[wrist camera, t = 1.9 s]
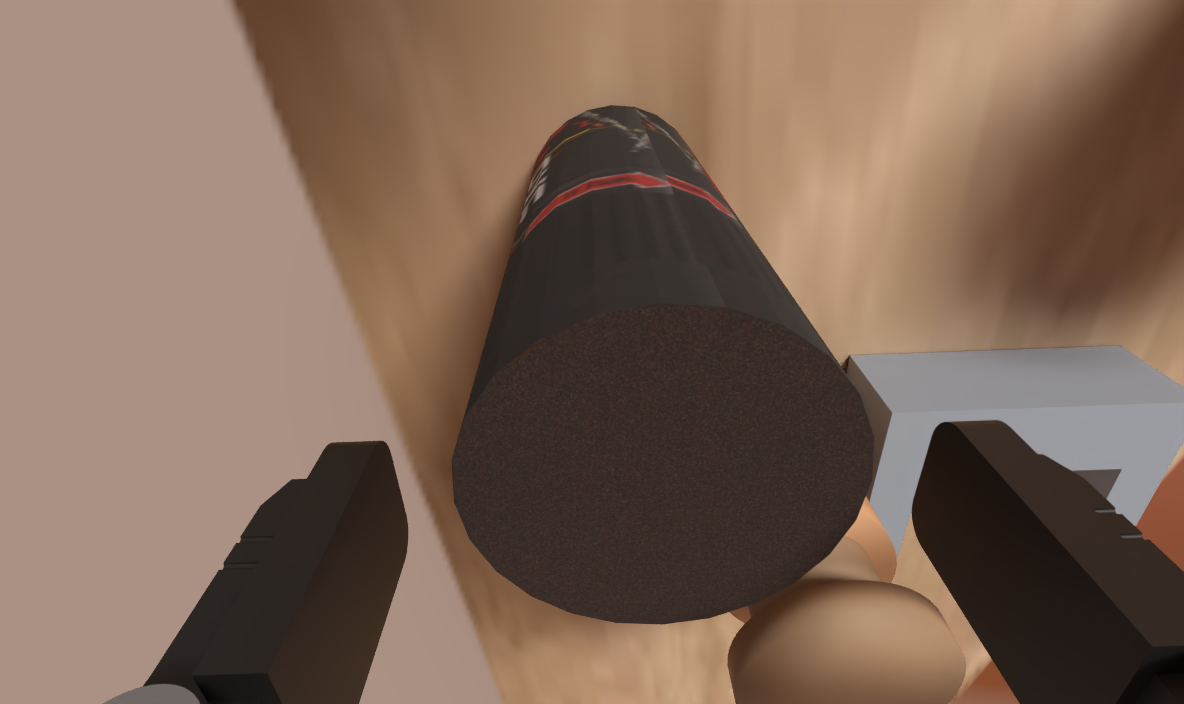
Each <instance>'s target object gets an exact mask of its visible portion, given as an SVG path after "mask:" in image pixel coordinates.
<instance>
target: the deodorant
mask: <svg viewBox="0 0 1184 704" xmlns="http://www.w3.org/2000/svg"><path fill="white" fill-rule="evenodd" d="M873 454H874V435H873V432H872V429H871V426H870V423H869V419H868V416H867V413H866V410H865V407H864V404H863V401H862V398H861V395H860V393H859V392H858V390H857V389H856V388H855V386H854V385H853V383H852V382H851V380H850V379H849V377H848V376H847V375H846V373H845V372H844V370H843V369H842V367H841V366H840V364H839V363H838V362H837V360H836V359H835V357H834V356H833V354H832V353H831V351H830V350H829V349H828V347H827V346H826V344H825V343H824V341H823V340H822V338H821V337H820V336H819V334H818V333H817V331H816V330H815V328H814V327H813V325H812V324H811V323H810V321H809V320H808V318H807V317H806V315H805V314H804V312H803V311H802V310H801V308H800V307H799V305H798V304H797V302H796V301H795V299H794V298H793V297H792V295H791V294H790V292H789V291H788V289H787V288H786V286H785V285H784V284H783V282H782V281H781V279H780V278H779V276H778V275H777V273H776V272H775V271H774V269H773V268H772V266H771V265H770V263H769V262H768V260H767V259H766V258H765V256H764V255H763V253H762V252H761V250H760V249H759V247H758V246H757V245H756V243H755V242H754V240H753V239H752V237H751V236H750V234H749V233H748V232H747V230H746V229H745V227H744V226H743V224H742V223H741V221H740V220H739V219H738V217H737V216H736V214H735V213H734V211H733V210H732V208H731V207H730V206H729V204H728V203H727V201H726V200H725V198H724V197H723V195H722V194H721V193H720V191H719V190H718V188H717V187H716V185H715V184H714V182H713V181H712V180H711V178H710V177H709V175H708V174H707V172H706V171H705V169H704V168H703V167H702V165H701V164H700V162H699V161H698V159H697V158H696V156H695V155H694V154H693V152H692V151H691V149H690V148H689V146H688V145H687V144H686V143H685V141H684V140H683V139H682V137H681V136H680V135H679V133H678V132H677V131H676V130H675V129H674V128H673V127H672V126H670V125H669V124H668V123H666V122H665V121H664V120H662V119H661V118H660V117H658V116H657V115H655V114H652V113H649V112H647V111H644V110H641V109H638V108H636V107H626V106H613V105H611V106H606V107H601V108H596V109H591V110H588V111H586V112H584V113H582V114H580V115H578V116H576V117H574V118H572V119H570V120H568V121H567V122H566V123H564V124H563V125H562V126H561V127H560V128H559V129H558V130H557V131H556V132H555V133H554V134H553V135H551V136H550V138H549V139H548V141H547V143H546V144H545V146H544V147H543V149H542V151H541V152H540V154H539V156H538V158H537V162H536V165H535V169H534V172H533V175H532V179H531V182H530V186H529V189H528V193H527V196H526V200H525V203H524V207H523V211H522V214H521V218H520V221H519V225H518V228H517V232H516V235H515V239H514V242H513V246H512V249H511V253H510V257H509V260H508V264H507V267H506V271H505V274H504V278H503V281H502V285H501V288H500V292H499V295H498V299H497V302H496V306H495V310H494V313H493V317H492V320H491V324H490V327H489V331H488V334H487V338H486V341H485V345H484V348H483V352H482V355H481V359H480V363H479V366H478V370H477V373H476V377H475V380H474V384H473V387H472V391H471V394H470V398H469V401H468V405H467V409H466V412H465V416H464V419H463V423H462V426H461V430H460V433H459V437H458V440H457V444H456V447H455V451H454V454H453V458H452V471H453V489H454V503H455V505H456V507H457V510H458V512H459V515H460V517H461V519H462V522H463V524H464V527H465V529H466V531H467V534H468V536H469V539H470V540H471V541H472V543H473V544H474V545H475V546H476V548H477V549H478V550H479V551H480V552H481V554H482V555H483V556H484V557H485V558H486V559H487V561H488V562H489V563H490V564H491V565H492V567H493V568H494V569H495V570H496V571H497V572H498V573H500V574H501V575H502V576H504V577H505V578H507V579H508V580H509V581H511V582H512V583H514V584H515V585H516V586H518V587H519V588H521V589H522V590H523V591H525V592H526V593H528V594H529V595H530V596H532V597H535V598H537V599H539V600H542V601H544V602H546V603H549V604H551V605H553V606H556V607H558V608H560V609H563V610H565V611H567V612H570V613H573V614H578V615H582V616H587V617H592V618H596V619H601V620H606V621H610V622H615V623H638V624H669V623H676V622H684V621H691V620H699V619H706V618H711V617H714V616H717V615H721V614H724V613H727V612H730V611H733V610H737V609H740V608H743V607H746V606H749V605H753V604H755V603H757V602H759V601H761V600H763V599H765V598H766V597H768V596H770V595H772V594H774V593H776V592H778V591H780V590H782V589H784V588H786V587H788V586H790V585H792V584H793V583H795V582H796V581H798V580H799V579H800V578H801V577H803V576H804V575H805V574H806V573H807V572H809V571H810V570H811V569H812V568H814V567H815V566H816V565H817V564H819V563H820V562H821V561H822V560H824V559H825V558H826V557H827V556H828V555H830V554H831V552H832V551H833V550H834V548H835V547H836V546H837V544H838V543H839V542H840V541H841V539H842V538H843V537H844V535H845V534H846V533H847V531H848V530H849V529H850V528H851V526H852V525H853V524H854V522H855V521H856V520H857V517H858V515H859V512H860V510H861V507H862V504H863V502H864V499H865V497H866V494H867V492H868V489H869V487H870V484H871V482H872V475H873Z"/></svg>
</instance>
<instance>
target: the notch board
mask: <svg viewBox="0 0 1184 704" xmlns="http://www.w3.org/2000/svg"><path fill="white" fill-rule="evenodd" d="M846 375H847V376H848V377H849V379H850V380H851V382H852V383H853V385H854V386H855V388H856V389H857V390H858V392H859V393H860V395H861V398H862V401H863V404H864V407H865V410H866V413H867V416H868V419H869V423H870V426H871V429H872V432H873V435H874V454H873V475H872V482H871V484H870V487H869V489H868V492H867V494H866V497H867V499H868V500H869V502H870V504H871V506H872V508H873V509H874V511H875V513H876V515H877V516H878V518H879V520H880V522H881V524H882V525H883V527H884V529H885V531H886V532H887V534H888V536H889V538H890V540H891V541H892V543H893V546H894V548H895V551H896V556H898V553H899V550H900V547H901V543H902V540H903V537H904V534H905V530H906V527H907V524H908V521H909V517H910V514H911V511H912V503H913V498H914V495H915V492H916V488H917V485H918V481H919V478H920V474H921V471H922V468H923V464H924V461H925V457H926V454H927V450H928V447H929V444H930V440H931V437H932V434H933V431H934V430H935V428H936V427H937V426H938V425H939V424H940V423H942V422H953V421H980V420H999V421H1002V422H1004V423H1006V424H1007V425H1008V426H1010V427H1011V428H1012V429H1013V430H1014V431H1015V432H1016V433H1017V434H1018V435H1019V436H1020V437H1021V438H1022V439H1023V440H1024V441H1025V442H1026V443H1027V444H1028V445H1029V446H1030V447H1031V448H1032V449H1033V450H1034V451H1035V452H1036V453H1037V454H1044V455H1045V456H1047V457H1049V458H1051V459H1052V460H1054V461H1056V462H1057V463H1059V464H1061V465H1062V466H1064V467H1066V468H1068V469H1069V470H1071V471H1073V472H1074V473H1076V474H1078V475H1079V476H1081V477H1083V478H1084V479H1085V480H1087V481H1088V482H1089V483H1090V484H1091V485H1092V486H1093V487H1094V488H1095V489H1096V490H1097V491H1098V492H1099V493H1100V494H1101V495H1102V496H1104V497H1105V498H1106V499H1107V500H1108V501H1109V502H1110V503H1111V504H1112V505H1113V506H1114V507H1115V511H1116V513H1117V514H1123V515H1124V516H1125V517H1126V518H1127V519H1128V520H1129V521H1130V522H1131V523H1132V524H1133V525H1134V526H1136V525H1137V523H1138V521H1139V519H1140V517H1141V516H1142V514H1143V512H1144V510H1145V509H1146V507H1147V505H1148V503H1149V502H1150V500H1151V498H1152V496H1153V495H1154V493H1155V491H1156V489H1157V488H1158V486H1159V484H1160V482H1161V480H1162V479H1163V477H1164V475H1165V473H1166V472H1167V470H1168V468H1169V466H1170V465H1171V463H1172V461H1173V459H1174V458H1175V456H1176V454H1177V452H1178V451H1179V449H1180V447H1181V445H1182V444H1183V442H1184V387H1183V386H1181V385H1180V384H1178V383H1177V382H1175V381H1174V380H1172V379H1171V378H1169V377H1168V376H1166V375H1165V374H1163V373H1162V372H1160V371H1159V370H1157V369H1155V368H1154V367H1152V366H1151V365H1149V364H1148V363H1146V362H1145V361H1143V360H1142V359H1140V358H1139V357H1137V356H1136V355H1134V354H1133V353H1131V352H1129V351H1128V350H1126V349H1125V348H1123V347H1122V346H1094V347H1066V348H1039V349H1012V350H985V351H958V352H930V353H903V354H876V355H850V358H849V363H848V368H847V372H846Z"/></svg>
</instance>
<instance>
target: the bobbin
mask: <svg viewBox="0 0 1184 704" xmlns="http://www.w3.org/2000/svg"><path fill="white" fill-rule="evenodd" d="M896 566H897V556H896V551H895V548H894V546H893V543H892V541H891V540H890V538H889V536H888V534H887V532H886V531H885V529H884V527H883V525H882V524H881V522H880V520H879V518H878V516H877V515H876V513H875V511H874V509H873V508H872V506H871V504H870V502H869V500H868V499H867V497H865V499H864V502H863V504H862V507H861V510H860V512H859V515H858V517H857V520H856V521H855V522H854V524H853V525H852V526H851V528H850V529H849V530H848V531H847V533H846V534H845V535H844V537H843V538H842V539H841V541H840V542H839V543H838V544H837V546H836V547H835V548H834V550H833V551H832V552H831V554H830V555H828V556H827V557H826V558H825V559H824V560H822V561H821V562H820V563H819V564H817V565H816V566H815V567H814V568H812V569H811V570H810V571H809V572H807V573H806V574H805V575H804V576H803V577H801V578H800V579H799V580H798V581H796V582H795V583H793V584H792V585H790V586H788V587H786V588H784V589H782V590H780V591H778V592H776V593H774V594H772V595H770V596H768V597H766V598H765V599H763V600H761V601H759V602H757V603H755V604H753V605H749V606H746V607H743V608H740V609H737V610H733V611H730V613H731V614H732V615H733V616H735V617H736V618H737V619H739V620H740V621H742V622H744V623H745V624H744V625H743V627H742V628H741V629H740V630H739V631H738V633H737V634H736V636H735V638H734V639H733V641H732V644H731V646H730V649H729V653H728V669H729V674H730V679H731V683H732V688H733V693H734V697H735V702H736V704H948V703H949V702H950V701H951V700H952V699H953V697H954V696H955V695H956V693H957V692H958V690H959V688H960V687H961V685H962V682H963V679H964V677H965V671H966V662H965V657H964V654H963V651H962V649H961V647H960V645H959V644H958V642H957V640H956V639H955V637H954V635H953V633H952V632H951V630H950V628H949V626H948V625H947V623H946V621H945V620H944V618H943V616H942V614H941V613H940V611H939V610H938V608H937V607H936V606H935V605H934V604H933V603H932V602H931V601H930V600H928V599H927V598H926V597H924V596H923V595H921V594H919V593H917V592H915V591H913V590H911V589H909V588H906V587H903V586H900V585H896V584H891V582H892V580H893V577H894V575H895V571H896Z"/></svg>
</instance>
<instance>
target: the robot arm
mask: <svg viewBox="0 0 1184 704" xmlns="http://www.w3.org/2000/svg"><path fill="white" fill-rule="evenodd" d="M912 520H913V526H914V530H915V533H916V536H917V539H918V541H919V543H920V545H921V547H922V548H923V550H924V551H925V553H926V555H927V556H928V558H929V559H930V561H931V563H932V564H933V566H934V567H935V569H936V571H937V572H938V574H939V575H940V577H941V579H942V580H943V582H944V583H945V585H946V586H947V588H948V590H949V591H950V593H951V594H952V596H953V598H954V599H955V601H956V602H957V604H958V606H959V607H960V609H961V610H962V612H963V614H964V615H965V617H966V618H967V620H968V622H969V623H970V625H971V626H972V628H973V630H974V631H975V633H976V634H977V636H978V638H979V639H980V641H981V642H982V644H983V646H984V647H985V649H986V650H987V652H988V654H989V655H990V657H991V658H992V660H993V662H994V663H995V665H996V666H997V668H998V670H999V671H1000V673H1001V674H1002V676H1003V678H1004V679H1005V681H1006V682H1007V684H1008V685H1009V687H1010V689H1011V690H1012V692H1013V694H1014V695H1015V697H1016V698H1017V700H1018V701H1019V703H1020V704H1184V572H1183V571H1182V570H1181V569H1180V568H1179V567H1178V566H1177V565H1176V564H1175V563H1174V562H1173V561H1171V560H1170V559H1169V558H1168V557H1167V556H1166V555H1165V554H1164V553H1163V552H1162V551H1161V550H1160V549H1159V548H1158V547H1157V546H1155V545H1154V544H1153V543H1152V542H1151V541H1150V540H1144V539H1143V537H1142V532H1141V531H1139V530H1138V529H1137V528H1136V527H1135V526H1134V525H1133V524H1132V523H1131V522H1130V521H1129V520H1128V519H1127V518H1126V517H1125V516H1124V515H1123V514H1117V513H1116V511H1115V507H1114V506H1113V505H1112V504H1111V503H1110V502H1109V501H1108V500H1107V499H1106V498H1105V497H1104V496H1102V495H1101V494H1100V493H1099V492H1098V491H1097V490H1096V489H1095V488H1094V487H1093V486H1092V485H1091V484H1090V483H1089V482H1088V481H1087V480H1085V479H1084V478H1083V477H1081V476H1079V475H1078V474H1076V473H1074V472H1073V471H1071V470H1069V469H1068V468H1066V467H1064V466H1062V465H1061V464H1059V463H1057V462H1056V461H1054V460H1052V459H1051V458H1049V457H1047V456H1045V455H1044V454H1037V453H1036V452H1035V451H1034V450H1033V449H1032V448H1031V447H1030V446H1029V445H1028V444H1027V443H1026V442H1025V441H1024V440H1023V439H1022V438H1021V437H1020V436H1019V435H1018V434H1017V433H1016V432H1015V431H1014V430H1013V429H1012V428H1011V427H1010V426H1008V425H1007V424H1006V423H1004V422H1002V421H999V420H980V421H953V422H942V423H940V424H939V425H938V426H937V427H936V428H935V430H934V431H933V434H932V437H931V440H930V444H929V447H928V450H927V454H926V457H925V461H924V464H923V468H922V471H921V474H920V478H919V481H918V485H917V488H916V492H915V495H914V498H913V503H912ZM407 546H408V523H407V516H406V512H405V508H404V504H403V500H402V496H401V492H400V488H399V484H398V480H397V476H396V472H395V468H394V464H393V460H392V456H391V452H390V450H389V447H388V445H387V444H386V443H385V442H384V441H365V442H336V443H330V444H328V445H327V446H326V448H325V449H324V451H323V452H322V454H321V455H320V457H319V459H318V461H317V462H316V464H315V466H314V468H313V469H312V471H311V473H310V474H309V476H308V478H307V479H292V480H291V481H289V482H288V483H287V484H286V485H285V486H284V487H282V488H281V489H280V490H279V491H278V492H276V493H275V494H274V495H273V496H272V497H270V498H269V499H268V500H267V501H266V502H264V503H263V504H262V505H261V506H260V507H259V509H258V510H257V512H256V514H255V515H254V517H253V518H252V520H251V521H250V523H249V524H248V526H247V527H246V529H245V531H244V532H243V534H242V535H241V541H240V543H236V545H235V546H234V548H233V549H232V551H231V552H230V554H229V555H228V557H227V558H226V560H225V561H224V568H223V570H219V571H218V572H217V574H216V575H215V577H214V579H213V580H212V582H211V583H210V585H209V586H208V588H207V589H206V591H205V592H204V594H203V595H202V597H201V599H200V600H199V602H198V603H197V605H196V606H195V608H194V609H193V611H192V613H191V614H190V616H189V617H188V619H187V620H186V622H185V623H184V625H183V626H182V628H181V629H180V631H179V633H178V634H177V636H176V637H175V639H174V640H173V642H172V643H171V645H170V646H169V648H168V650H167V651H166V653H165V654H164V656H163V657H162V659H161V660H160V662H159V664H158V665H157V667H156V668H155V670H154V671H153V673H152V674H151V676H150V677H149V679H148V680H147V681H146V683H145V684H144V686H143V687H140V688H137V689H134V690H131V691H128V692H126V693H123V694H121V695H119V696H117V697H114V698H112V699H110V700H109V701H107V702H105V703H103V704H359V701H360V698H361V695H362V692H363V689H364V686H365V683H366V680H367V676H368V673H369V670H370V667H371V664H372V661H373V658H374V655H375V652H376V649H377V646H378V642H379V639H380V636H381V633H382V630H383V627H384V624H385V621H386V618H387V614H388V611H389V608H390V605H391V602H392V599H393V596H394V593H395V590H396V587H397V583H398V580H399V577H400V574H401V571H402V568H403V564H404V562H405V558H406V553H407Z"/></svg>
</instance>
